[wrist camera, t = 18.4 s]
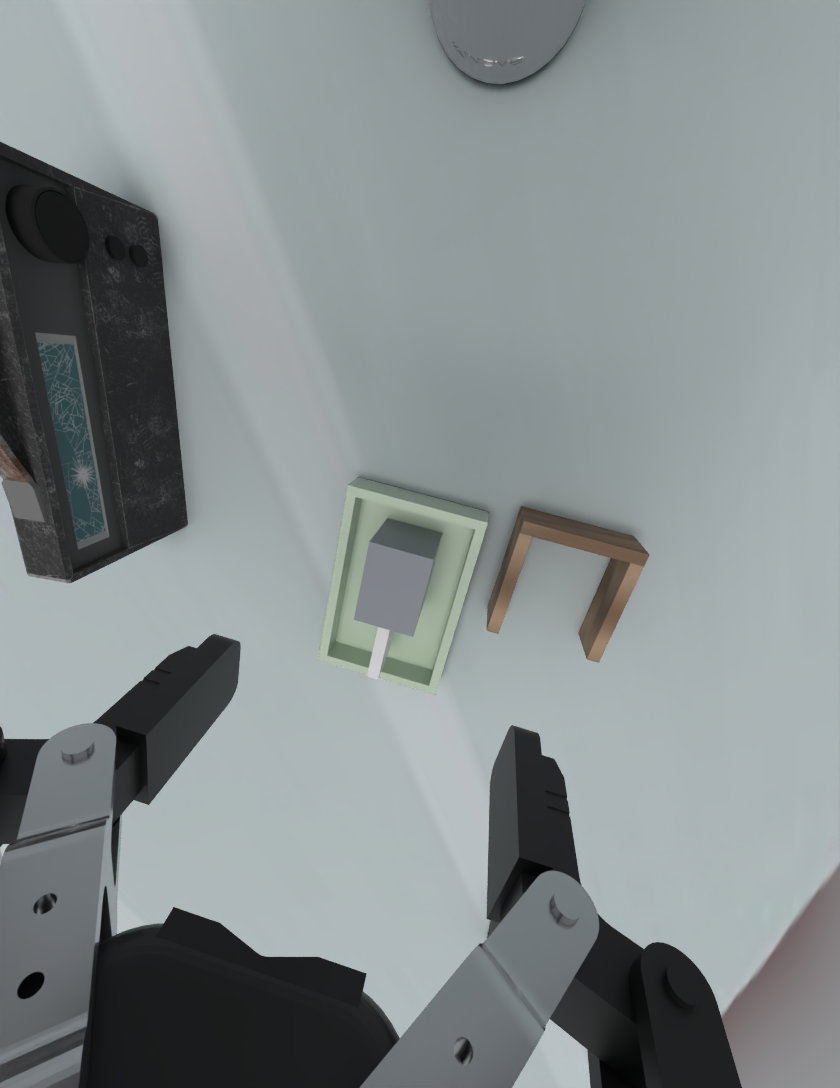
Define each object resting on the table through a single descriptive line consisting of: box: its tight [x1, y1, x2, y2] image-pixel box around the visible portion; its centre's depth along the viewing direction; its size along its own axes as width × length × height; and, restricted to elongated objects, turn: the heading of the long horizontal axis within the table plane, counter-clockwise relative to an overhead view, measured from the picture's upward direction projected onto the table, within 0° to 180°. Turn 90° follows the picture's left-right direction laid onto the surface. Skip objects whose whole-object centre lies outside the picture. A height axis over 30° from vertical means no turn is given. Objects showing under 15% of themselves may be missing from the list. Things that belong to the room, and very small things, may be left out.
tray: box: [318, 477, 489, 695], centre depth 40 cm, size 18×12×3 cm, turn 167°
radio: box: [0, 142, 188, 583], centre depth 30 cm, size 25×4×20 cm, turn 174°
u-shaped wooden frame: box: [487, 507, 649, 663], centre depth 37 cm, size 10×10×4 cm
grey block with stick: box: [354, 518, 443, 680], centre depth 38 cm, size 12×5×6 cm, turn 167°
